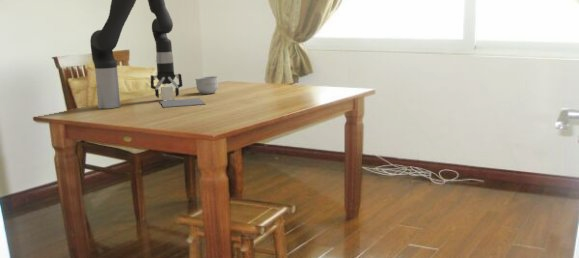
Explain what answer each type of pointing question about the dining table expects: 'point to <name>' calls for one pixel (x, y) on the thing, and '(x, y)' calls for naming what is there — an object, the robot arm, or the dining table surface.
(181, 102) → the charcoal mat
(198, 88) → the teacup
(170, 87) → the cream block
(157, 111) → the dining table surface
